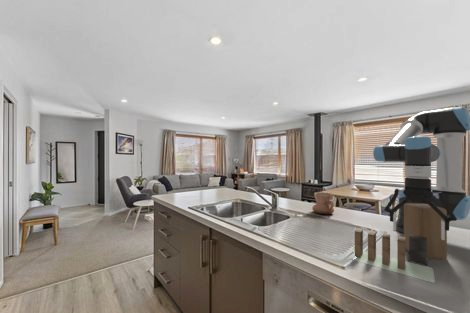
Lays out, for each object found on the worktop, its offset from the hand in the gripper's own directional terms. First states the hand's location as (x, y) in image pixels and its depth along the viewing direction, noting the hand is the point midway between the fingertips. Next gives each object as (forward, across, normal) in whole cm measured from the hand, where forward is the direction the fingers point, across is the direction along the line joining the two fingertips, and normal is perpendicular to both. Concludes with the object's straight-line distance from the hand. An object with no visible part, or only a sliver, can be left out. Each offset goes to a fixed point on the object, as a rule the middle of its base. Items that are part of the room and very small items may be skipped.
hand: (417, 234), depth 79 cm
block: (+11, +2, +12) cm, 17 cm away
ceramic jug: (+10, -51, +52) cm, 74 cm away
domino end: (+11, -18, -8) cm, 22 cm away
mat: (+11, -9, -8) cm, 16 cm away
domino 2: (+11, -9, -8) cm, 16 cm away
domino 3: (+11, -4, -8) cm, 14 cm away
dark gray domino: (+11, 0, 0) cm, 11 cm away
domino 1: (+11, -13, -8) cm, 19 cm away
